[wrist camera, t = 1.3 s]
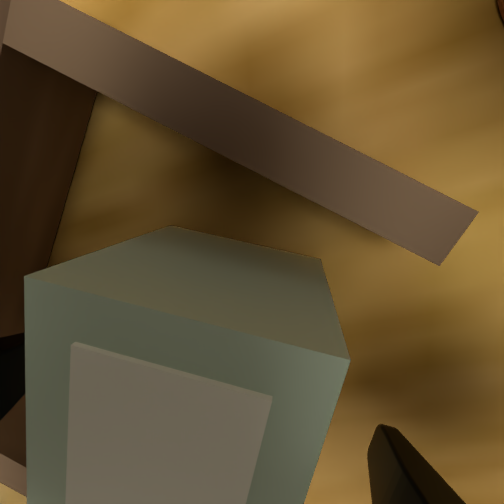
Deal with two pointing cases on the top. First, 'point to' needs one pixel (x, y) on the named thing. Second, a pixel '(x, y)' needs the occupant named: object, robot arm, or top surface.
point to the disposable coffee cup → (501, 7)
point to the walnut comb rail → (178, 119)
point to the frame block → (179, 373)
